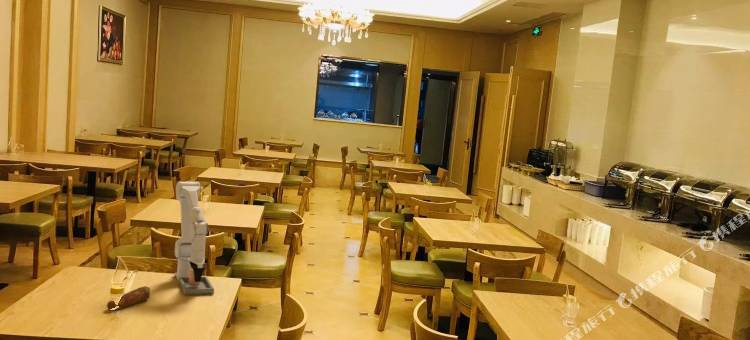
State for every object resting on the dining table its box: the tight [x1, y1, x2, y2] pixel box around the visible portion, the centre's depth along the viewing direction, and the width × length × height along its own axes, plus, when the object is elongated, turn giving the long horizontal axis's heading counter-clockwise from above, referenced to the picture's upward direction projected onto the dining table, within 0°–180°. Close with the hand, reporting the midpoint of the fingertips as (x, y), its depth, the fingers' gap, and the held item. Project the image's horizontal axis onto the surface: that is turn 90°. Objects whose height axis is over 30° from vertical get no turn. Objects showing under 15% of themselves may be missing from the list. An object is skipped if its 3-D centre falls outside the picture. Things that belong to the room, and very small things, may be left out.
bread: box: [106, 285, 151, 311], centre depth 250 cm, size 6×19×6 cm, turn 154°
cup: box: [188, 267, 200, 286], centre depth 276 cm, size 5×5×7 cm
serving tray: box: [178, 275, 215, 296], centre depth 277 cm, size 18×12×2 cm, turn 25°
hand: (196, 279), depth 277 cm, fingers closed on cup, 5 cm apart
